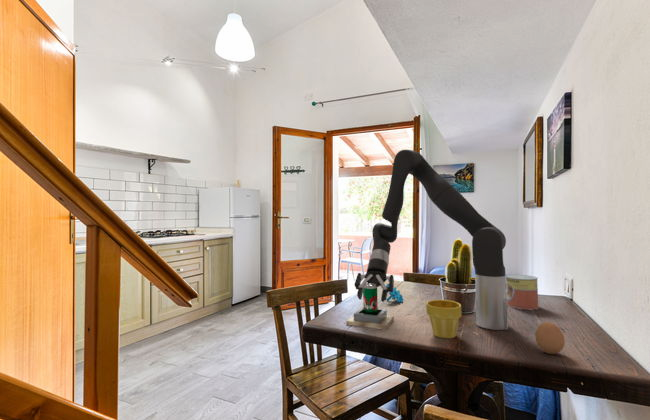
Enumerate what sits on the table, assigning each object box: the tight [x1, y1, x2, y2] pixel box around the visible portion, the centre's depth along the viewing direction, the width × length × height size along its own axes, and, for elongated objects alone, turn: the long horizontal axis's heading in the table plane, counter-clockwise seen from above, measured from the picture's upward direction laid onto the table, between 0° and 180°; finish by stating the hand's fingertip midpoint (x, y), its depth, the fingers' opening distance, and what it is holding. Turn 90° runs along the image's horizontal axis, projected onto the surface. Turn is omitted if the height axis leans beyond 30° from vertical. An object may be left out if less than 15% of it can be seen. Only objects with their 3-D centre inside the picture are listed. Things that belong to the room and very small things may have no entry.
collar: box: [353, 306, 388, 324], centre depth 115 cm, size 9×9×2 cm
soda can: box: [362, 283, 379, 315], centre depth 116 cm, size 5×5×12 cm
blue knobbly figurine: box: [385, 283, 405, 304], centre depth 144 cm, size 11×6×10 cm
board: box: [345, 314, 395, 331], centre depth 115 cm, size 14×12×1 cm
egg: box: [535, 321, 566, 355], centre depth 87 cm, size 6×6×8 cm
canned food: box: [505, 274, 539, 311], centre depth 133 cm, size 11×11×12 cm
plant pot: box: [425, 299, 463, 339], centre depth 101 cm, size 10×10×10 cm
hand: (371, 299), depth 116 cm, fingers open, 8 cm apart
